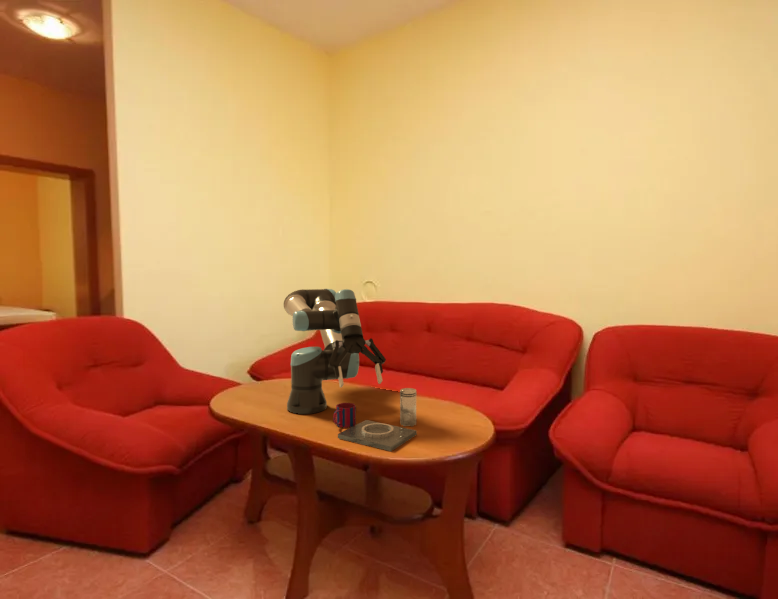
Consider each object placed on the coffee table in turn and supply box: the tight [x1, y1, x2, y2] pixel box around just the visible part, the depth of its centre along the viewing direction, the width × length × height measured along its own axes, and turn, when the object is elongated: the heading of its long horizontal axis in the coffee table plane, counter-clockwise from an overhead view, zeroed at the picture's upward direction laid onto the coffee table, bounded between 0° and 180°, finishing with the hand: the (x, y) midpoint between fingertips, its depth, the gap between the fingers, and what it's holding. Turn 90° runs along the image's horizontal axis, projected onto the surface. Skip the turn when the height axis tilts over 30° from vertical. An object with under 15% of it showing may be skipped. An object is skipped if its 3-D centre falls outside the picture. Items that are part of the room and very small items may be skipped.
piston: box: [399, 387, 418, 427], centre depth 164 cm, size 6×6×12 cm
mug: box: [332, 402, 357, 429], centre depth 162 cm, size 7×10×7 cm
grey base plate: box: [337, 419, 418, 452], centre depth 152 cm, size 20×16×3 cm
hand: (361, 384), depth 159 cm, fingers open, 13 cm apart
